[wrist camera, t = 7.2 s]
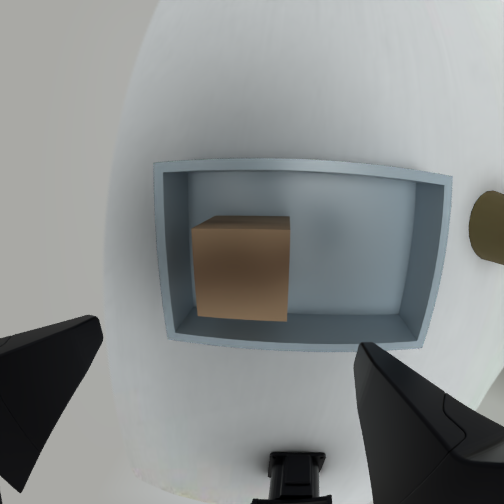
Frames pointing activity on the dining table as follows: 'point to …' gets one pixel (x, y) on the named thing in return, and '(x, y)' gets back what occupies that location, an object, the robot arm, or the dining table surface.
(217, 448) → the dining table surface
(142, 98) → the dining table surface
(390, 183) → the tote
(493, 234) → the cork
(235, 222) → the walnut cube
